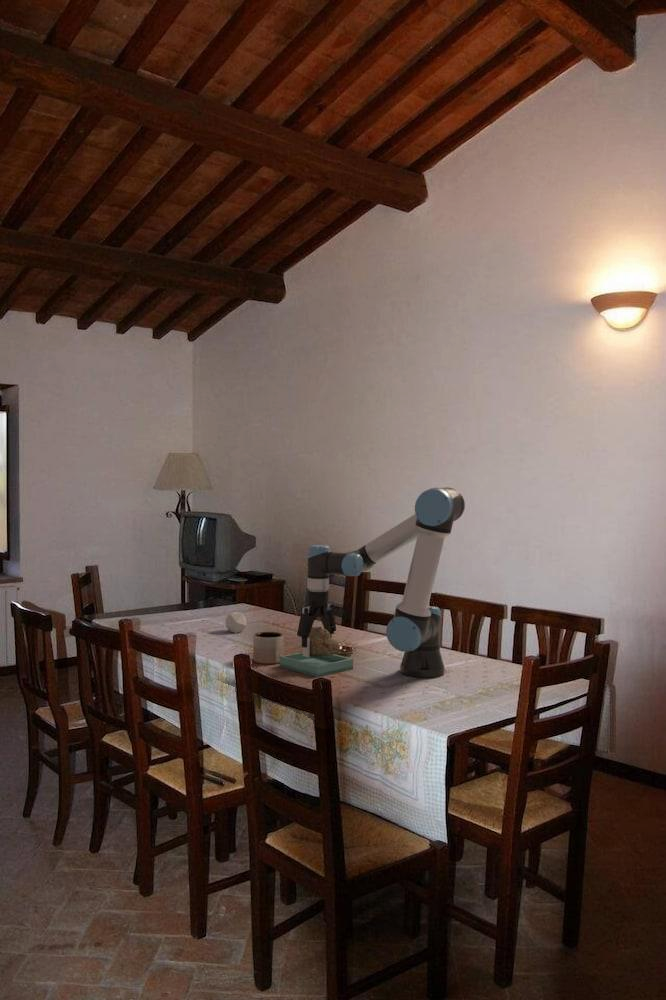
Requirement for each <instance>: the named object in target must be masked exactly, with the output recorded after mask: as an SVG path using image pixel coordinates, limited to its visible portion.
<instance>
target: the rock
mask: <svg viewBox="0 0 666 1000" xmlns="http://www.w3.org/2000/svg"><path fill="white" fill-rule="evenodd" d="M305 634H306V633H305ZM308 638H310V656H316V657H323V656H331V655H332V654H335V655H338V654H339V653H341V649H340V644H339V642H338V641H336V640H333V639H332V638H330V632H328V631H327V630H326V629H324V628H323V627H322V626H317V627H316V626H315V627H314V626H312V628H311V631H310V633H309V636H308ZM301 648H302V649H303V647H302V646H301Z"/></svg>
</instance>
